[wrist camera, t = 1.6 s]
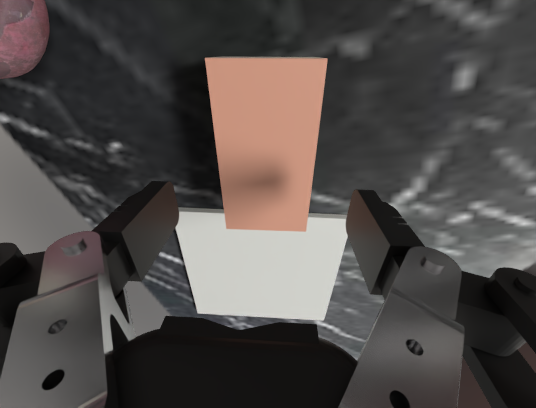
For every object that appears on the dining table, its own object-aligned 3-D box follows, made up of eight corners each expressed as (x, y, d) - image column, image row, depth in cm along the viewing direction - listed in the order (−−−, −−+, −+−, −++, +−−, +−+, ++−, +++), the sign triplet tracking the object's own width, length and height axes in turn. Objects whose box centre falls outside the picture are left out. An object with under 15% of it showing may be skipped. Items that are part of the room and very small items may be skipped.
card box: (223, 56, 14) (204, 58, 10) (316, 57, 13) (327, 58, 10) (235, 198, 19) (226, 229, 16) (301, 200, 19) (306, 231, 16)
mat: (173, 207, 20) (171, 211, 19) (350, 214, 19) (352, 219, 19) (199, 308, 28) (197, 313, 27) (323, 315, 28) (323, 320, 27)
